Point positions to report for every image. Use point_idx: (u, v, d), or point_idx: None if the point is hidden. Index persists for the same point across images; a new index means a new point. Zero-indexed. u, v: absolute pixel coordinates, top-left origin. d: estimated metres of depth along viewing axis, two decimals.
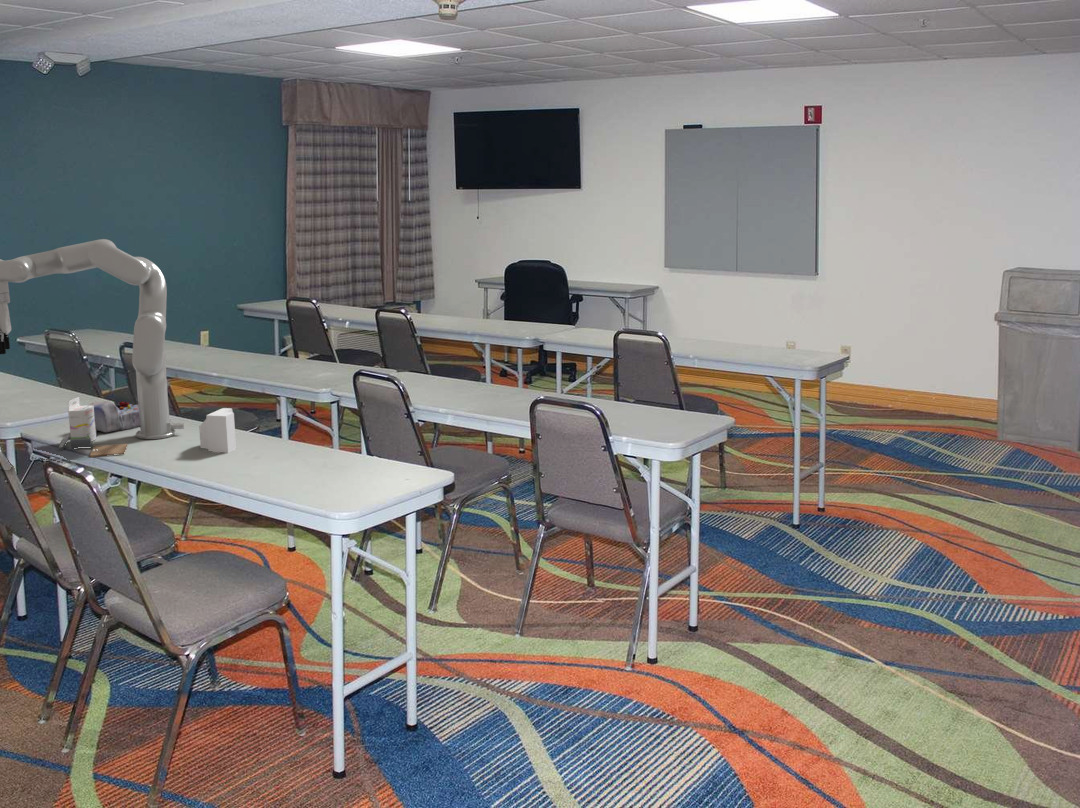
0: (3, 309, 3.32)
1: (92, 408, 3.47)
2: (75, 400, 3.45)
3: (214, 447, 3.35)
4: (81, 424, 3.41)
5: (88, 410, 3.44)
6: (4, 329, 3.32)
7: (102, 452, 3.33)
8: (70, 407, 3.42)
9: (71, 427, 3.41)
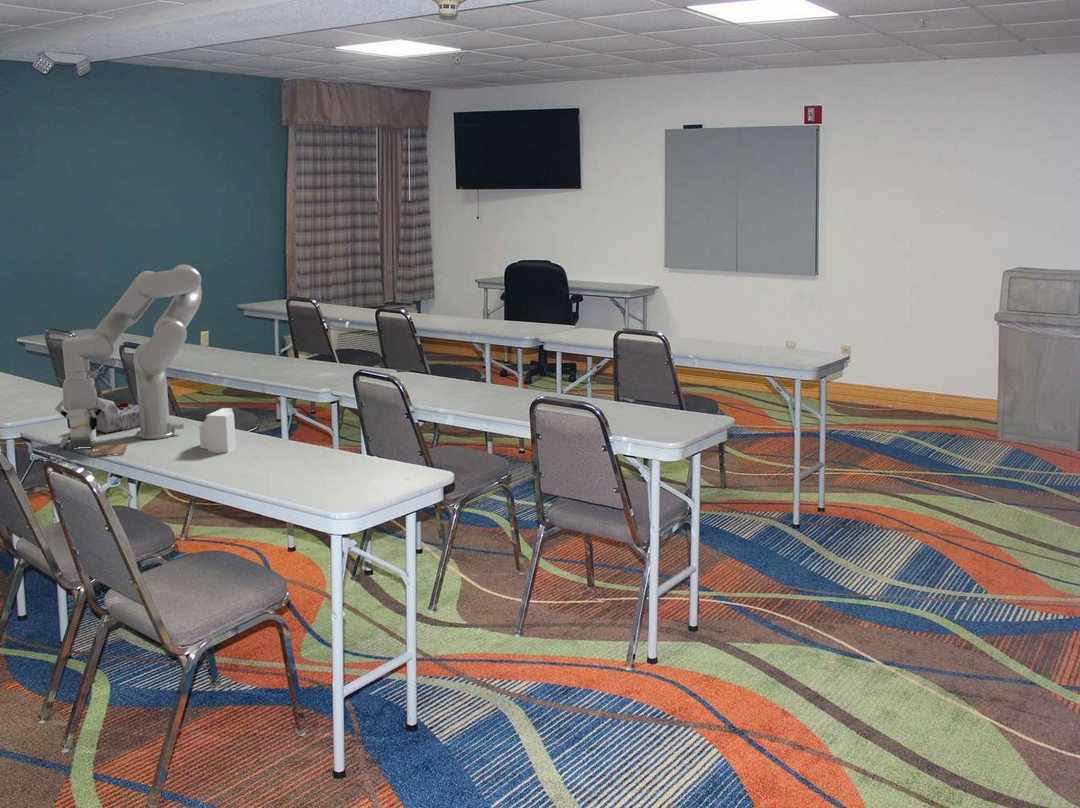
0: None
1: None
2: None
3: (214, 447, 3.35)
4: (81, 424, 3.41)
5: (88, 410, 3.44)
6: None
7: (102, 452, 3.33)
8: None
9: (71, 427, 3.41)
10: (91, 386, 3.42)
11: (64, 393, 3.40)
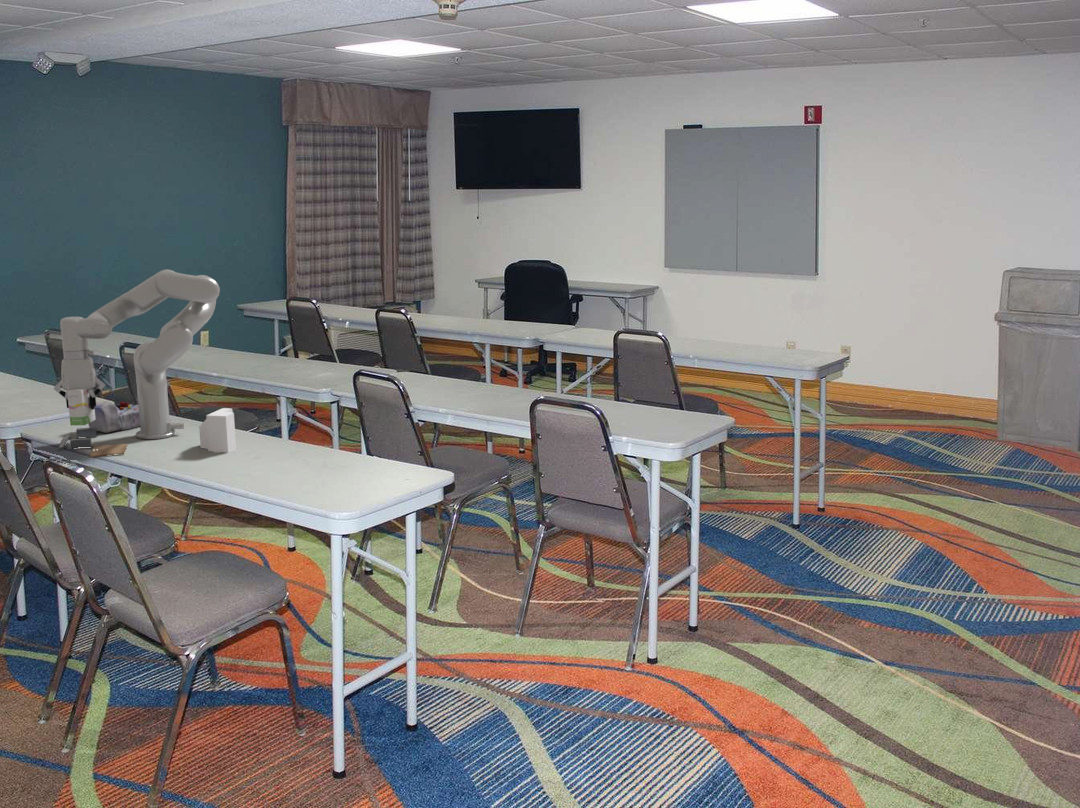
0: None
1: None
2: None
3: (214, 448, 3.35)
4: (79, 403, 3.40)
5: (87, 390, 3.43)
6: (95, 381, 3.46)
7: (102, 452, 3.33)
8: None
9: (70, 407, 3.40)
10: (90, 365, 3.41)
11: (62, 373, 3.39)
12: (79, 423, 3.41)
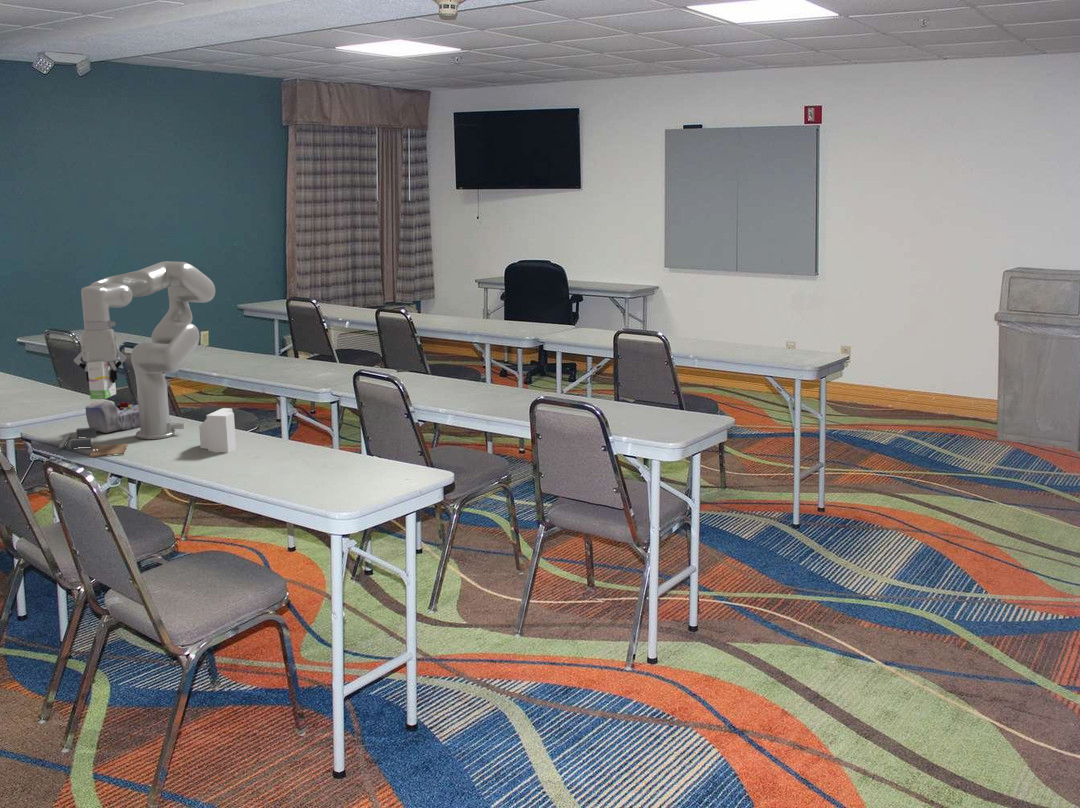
0: None
1: None
2: None
3: (214, 448, 3.35)
4: (100, 376, 3.27)
5: (108, 362, 3.30)
6: None
7: (102, 452, 3.33)
8: None
9: (90, 379, 3.27)
10: (111, 337, 3.28)
11: (83, 344, 3.26)
12: (99, 397, 3.28)
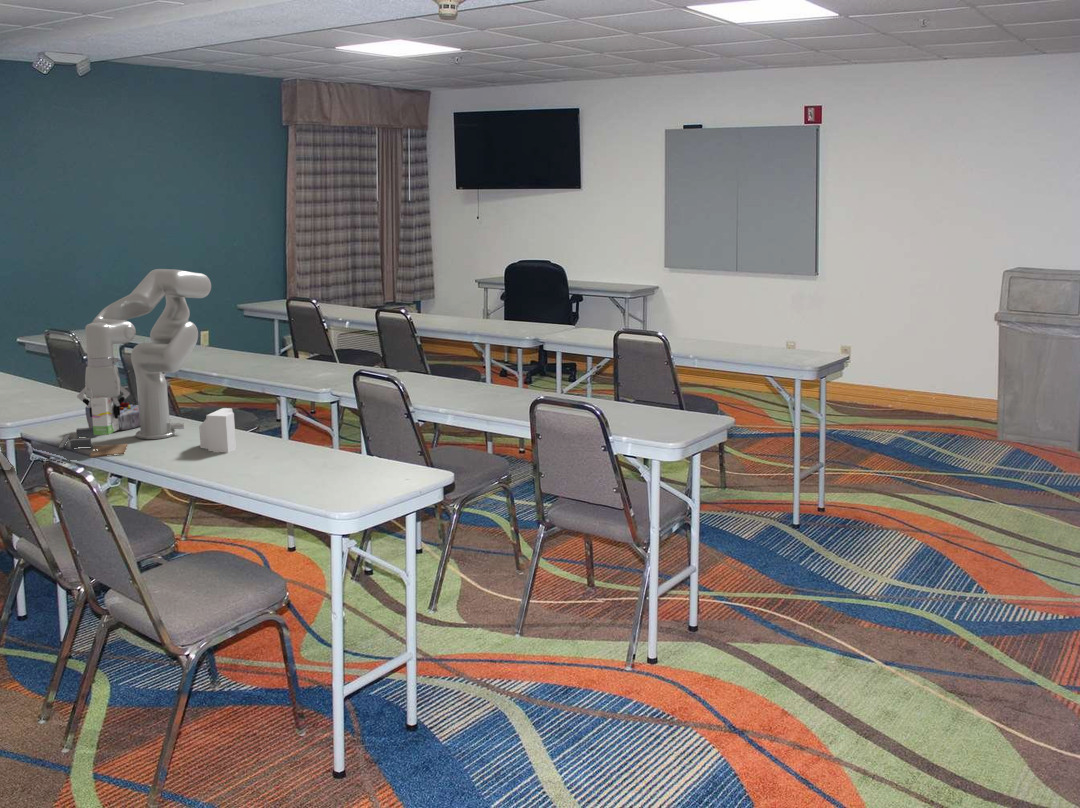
0: None
1: None
2: None
3: (214, 448, 3.35)
4: (103, 412, 3.29)
5: (111, 398, 3.32)
6: None
7: (102, 452, 3.33)
8: None
9: (93, 415, 3.29)
10: (114, 373, 3.30)
11: (87, 380, 3.28)
12: (102, 432, 3.30)
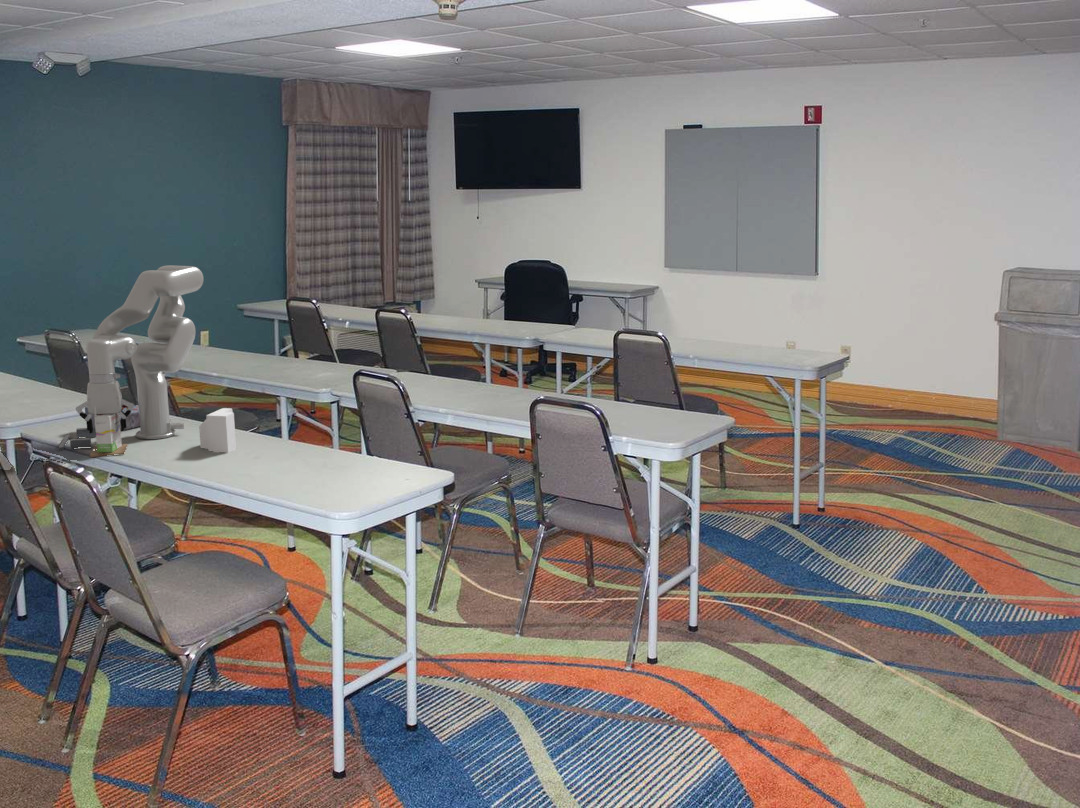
0: None
1: None
2: None
3: (214, 448, 3.35)
4: (107, 430, 3.31)
5: (114, 416, 3.34)
6: (121, 405, 3.36)
7: (102, 452, 3.33)
8: None
9: (97, 433, 3.31)
10: (116, 389, 3.31)
11: (88, 396, 3.29)
12: (106, 450, 3.32)
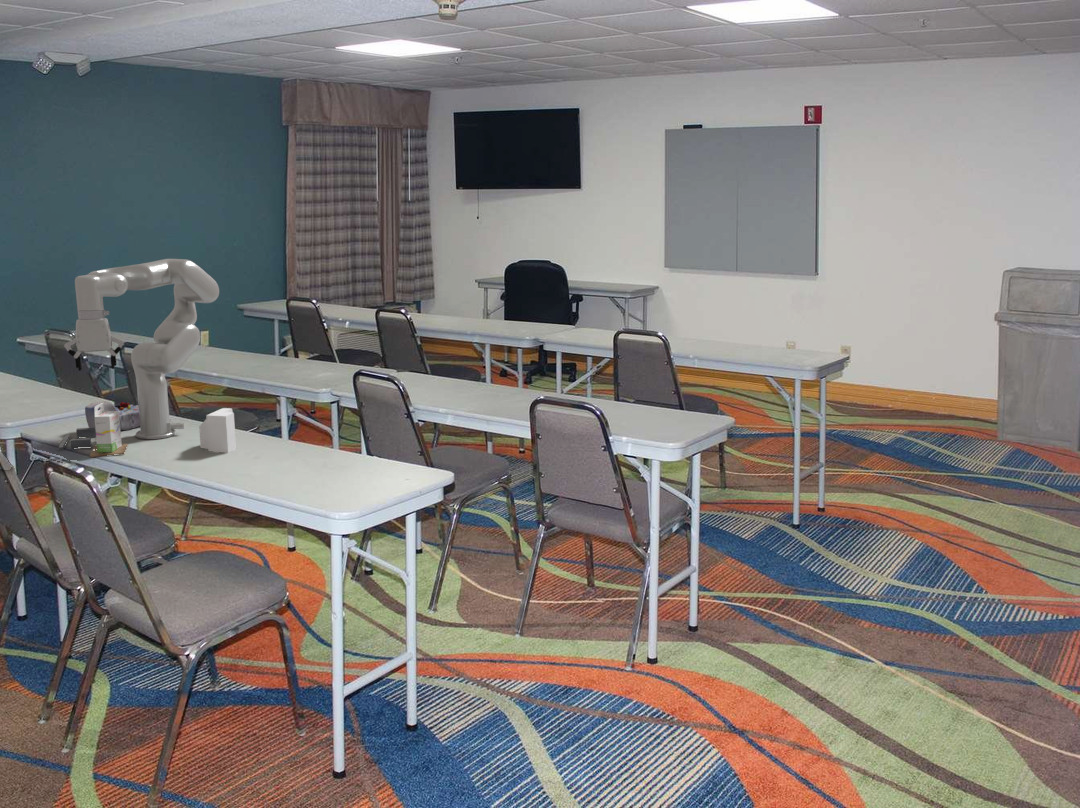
0: None
1: (118, 413, 3.37)
2: (100, 405, 3.34)
3: (214, 448, 3.35)
4: (107, 430, 3.31)
5: (114, 416, 3.34)
6: (111, 343, 3.34)
7: (102, 452, 3.33)
8: (96, 413, 3.31)
9: (97, 433, 3.31)
10: (105, 326, 3.28)
11: (77, 333, 3.26)
12: (106, 450, 3.32)
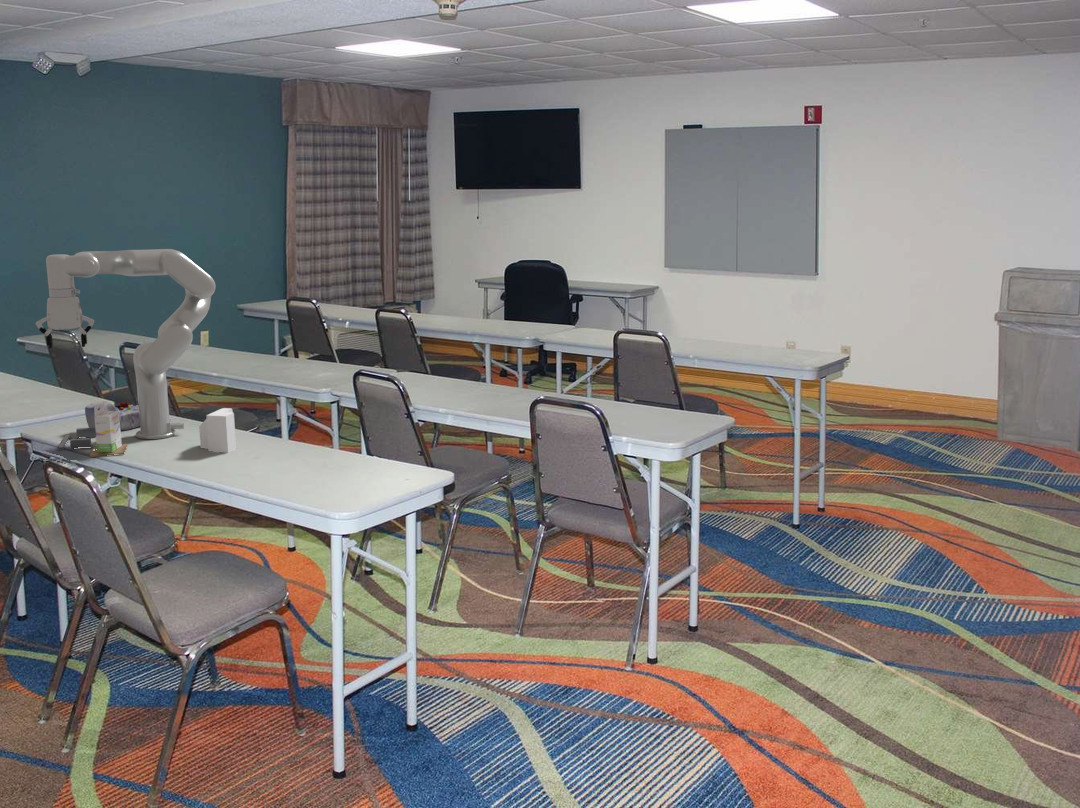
0: None
1: (118, 413, 3.37)
2: (100, 405, 3.34)
3: (214, 447, 3.35)
4: (107, 430, 3.31)
5: (114, 416, 3.34)
6: (82, 321, 3.39)
7: (102, 452, 3.33)
8: (96, 413, 3.31)
9: (97, 433, 3.31)
10: (76, 304, 3.34)
11: (48, 311, 3.32)
12: (106, 450, 3.32)
